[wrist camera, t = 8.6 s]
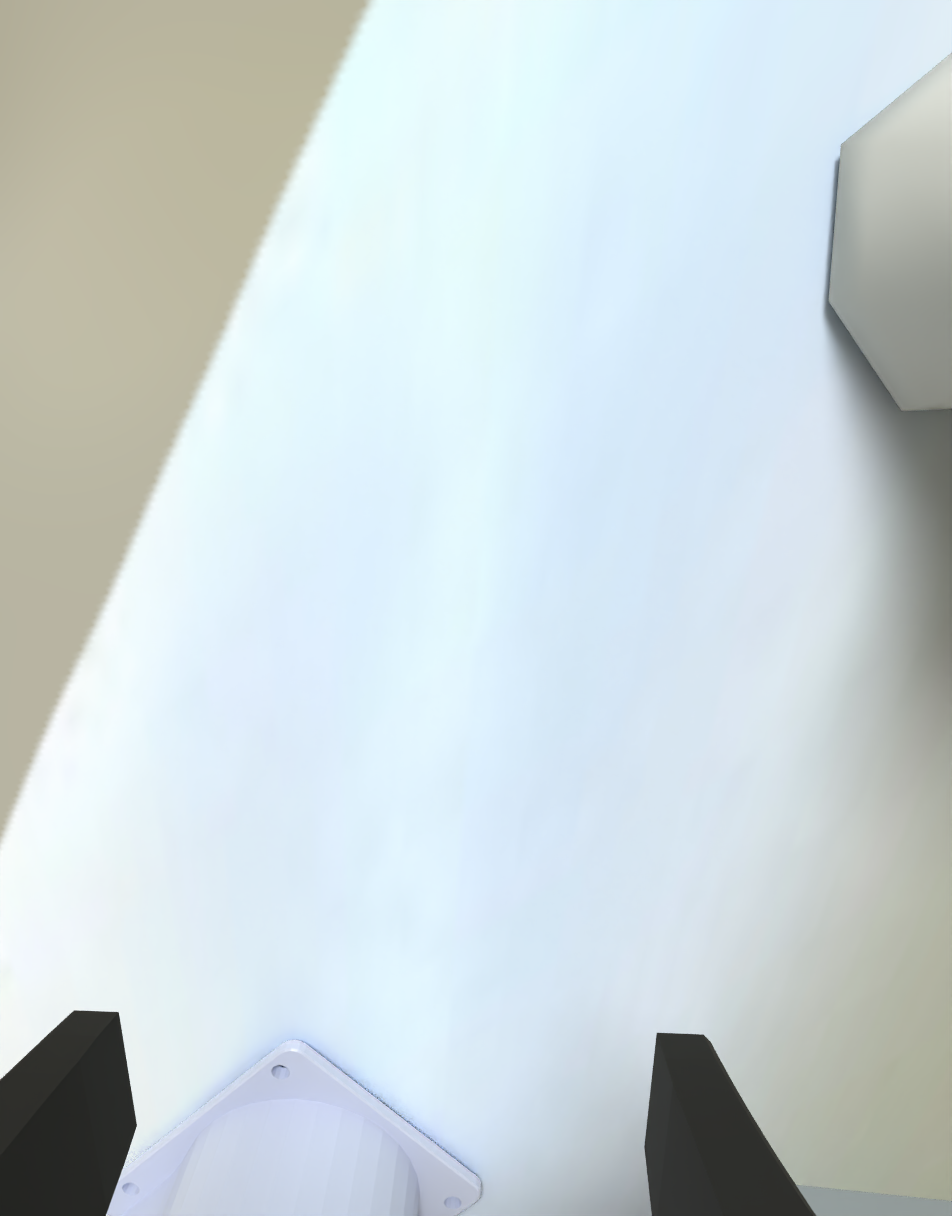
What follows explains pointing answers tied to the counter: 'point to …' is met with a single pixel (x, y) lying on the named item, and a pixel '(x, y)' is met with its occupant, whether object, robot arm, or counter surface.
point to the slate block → (870, 1203)
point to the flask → (900, 242)
